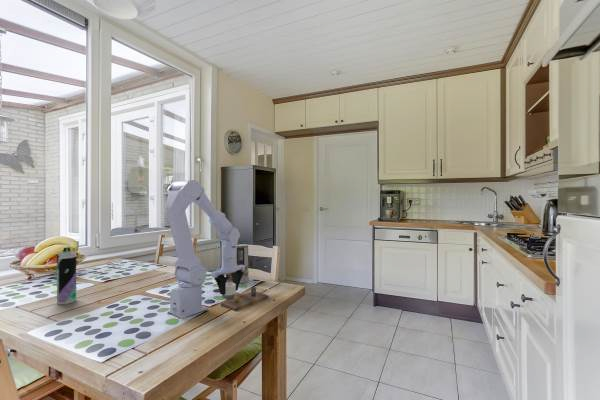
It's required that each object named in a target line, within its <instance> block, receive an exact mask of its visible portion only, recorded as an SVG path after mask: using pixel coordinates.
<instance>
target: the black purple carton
mask: <svg viewBox="0 0 600 400" xmlns="http://www.w3.org/2000/svg"><path fill="white" fill-rule="evenodd" d="M76 301H77V253H76V252H74V251H73V250H71V247H63V249H62V250H61V252H60V253H58V254H57V256H56V304H57V305H66V304H67V305H68V304H71V303H75V302H76Z"/></svg>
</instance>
